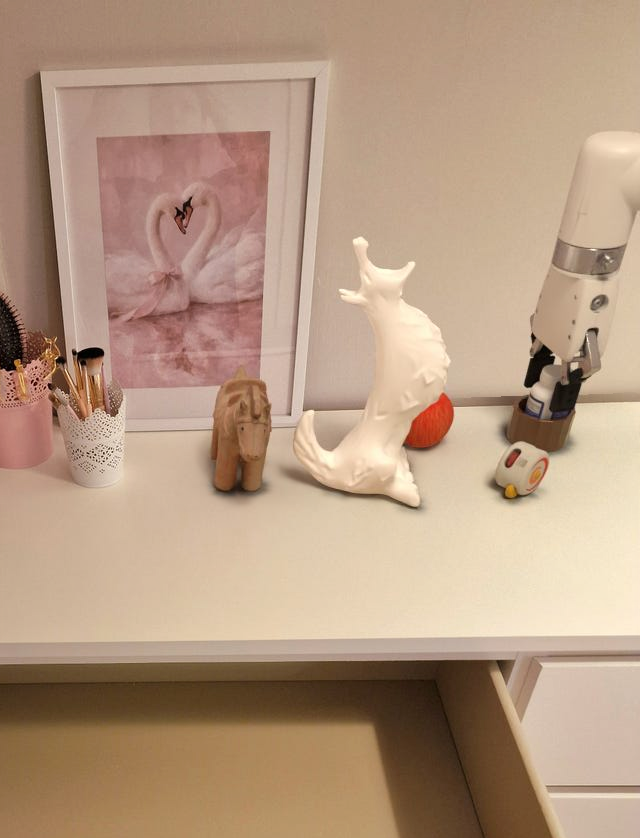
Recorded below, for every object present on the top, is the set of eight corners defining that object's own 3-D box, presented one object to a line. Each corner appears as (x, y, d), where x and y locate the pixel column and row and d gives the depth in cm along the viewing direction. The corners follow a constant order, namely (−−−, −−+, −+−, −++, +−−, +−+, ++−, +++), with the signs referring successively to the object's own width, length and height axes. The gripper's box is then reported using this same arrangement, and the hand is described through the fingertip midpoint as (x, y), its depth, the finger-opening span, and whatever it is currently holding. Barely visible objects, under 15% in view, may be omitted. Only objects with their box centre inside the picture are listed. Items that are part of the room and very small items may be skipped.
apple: (390, 423, 121) (399, 368, 116) (450, 430, 119) (461, 375, 114) (383, 451, 116) (391, 396, 110) (445, 459, 114) (457, 403, 108)
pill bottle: (560, 427, 118) (581, 365, 111) (559, 446, 114) (581, 383, 108) (519, 421, 119) (538, 359, 113) (517, 439, 115) (536, 377, 109)
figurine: (220, 522, 105) (221, 409, 95) (206, 448, 118) (206, 342, 108) (280, 518, 106) (287, 404, 95) (260, 445, 118) (265, 338, 108)
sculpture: (431, 509, 106) (483, 254, 85) (293, 511, 106) (312, 258, 86) (415, 460, 114) (459, 217, 94) (286, 462, 115) (302, 221, 95)
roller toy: (548, 487, 108) (560, 446, 104) (517, 506, 105) (529, 464, 101) (517, 473, 111) (528, 432, 107) (486, 491, 108) (497, 450, 104)
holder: (549, 421, 120) (557, 391, 117) (576, 448, 114) (586, 417, 111) (496, 427, 119) (504, 397, 116) (522, 455, 114) (530, 424, 111)
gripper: (660, 278, 95) (610, 426, 107) (580, 228, 108) (543, 366, 120) (596, 285, 94) (552, 433, 106) (522, 234, 107) (491, 372, 119)
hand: (548, 396), depth 113 cm, fingers open, 6 cm apart
